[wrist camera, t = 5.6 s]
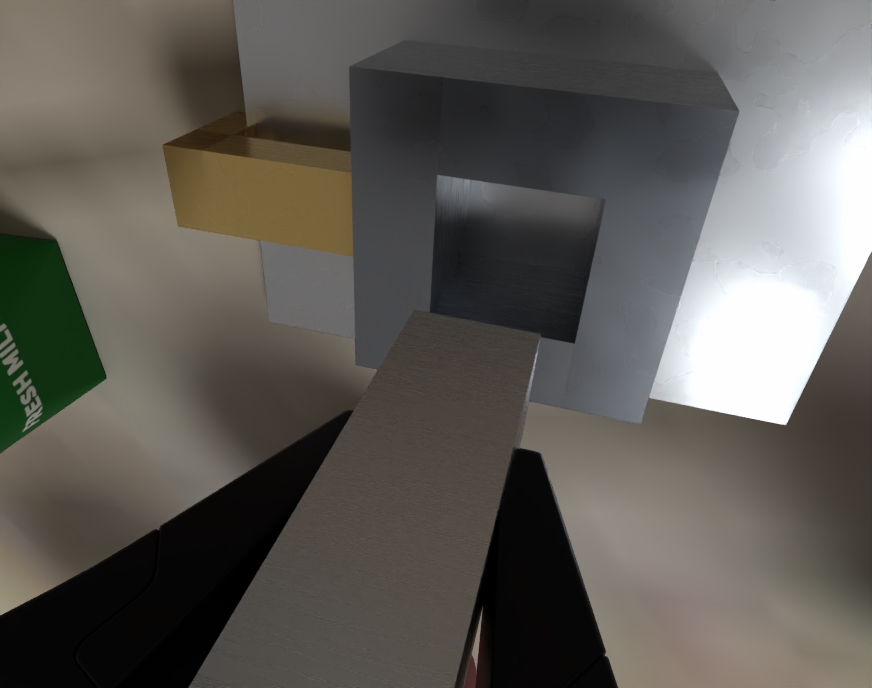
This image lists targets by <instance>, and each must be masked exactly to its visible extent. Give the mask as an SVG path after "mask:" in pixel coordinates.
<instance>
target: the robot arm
mask: <svg viewBox="0 0 872 688" xmlns="http://www.w3.org/2000/svg"><path fill="white" fill-rule="evenodd" d="M353 411H354V410H347V411H344V412H342V413H341V414H339V415H338V416H336V417H334V418H333V419H331V420H330V421H328V422H326V423H325V424H323V425H322V426H320V427H318V428H317V429H315V430H314V431H312V432H310V433H309V434H307V435H306V436H304V437H302V438H301V439H299V440H298V441H296V442H294V443H293V444H291V445H290V446H288V447H286V448H285V449H283V450H281V451H280V452H278V453H277V454H275V455H273V456H272V457H270V458H269V459H267V460H265V461H264V462H262V463H261V464H259V465H257V466H256V467H254V468H253V469H251V470H249V471H248V472H246V473H245V474H243V475H241V476H240V477H238V478H237V479H235V480H233V481H232V482H230V483H229V484H227V485H225V486H224V487H222V488H221V489H219V490H217V491H216V492H214V493H212V494H211V495H209V496H208V497H206V498H204V499H203V500H201V501H200V502H198V503H196V504H195V505H193V506H192V507H190V508H188V509H187V510H185V511H184V512H182V513H180V514H179V515H177V516H176V517H174V518H172V519H171V520H169V521H168V522H166V523H164V524H163V525H161V526H160V529H159V530H157V529H155V530H153V531H151V532H150V533H148V534H146V535H145V536H143V537H142V538H140V539H138V540H137V541H135V542H134V543H132V544H130V545H129V546H127V547H125V548H124V549H122V550H120V551H118V552H117V553H115V554H113V555H112V556H110V557H108V558H107V559H105V560H103V561H102V562H100V563H98V564H97V565H95V566H93V567H91V568H89V569H88V570H86V571H84V572H82V573H80V574H78V575H76V576H75V577H73V578H71V579H69V580H67V581H65V582H64V583H62V584H60V585H58V586H56V587H54V588H52V589H51V590H49V591H47V592H45V593H43V594H41V595H39V596H37V597H35V598H33V599H31V600H29V601H27V602H25V603H24V604H22V605H20V606H18V607H16V608H14V609H12V610H10V611H8V612H6V613H4V614H2V615H0V688H189V686H190V684H191V683H192V681H193V679H194V678H195V676H196V674H197V673H198V671H199V669H200V668H201V666H202V664H203V663H204V661H205V659H206V658H207V656H208V654H209V653H210V651H211V649H212V648H213V646H214V644H215V643H216V641H217V639H218V637H219V636H220V634H221V632H222V631H223V629H224V627H225V626H226V624H227V622H228V621H229V619H230V617H231V616H232V614H233V612H234V611H235V609H236V607H237V606H238V604H239V602H240V601H241V599H242V597H243V596H244V594H245V592H246V591H247V589H248V587H249V585H250V584H251V582H252V580H253V579H254V577H255V575H256V574H257V572H258V570H259V569H260V567H261V565H262V564H263V562H264V560H265V559H266V557H267V555H268V554H269V552H270V550H271V549H272V547H273V545H274V544H275V542H276V540H277V539H278V537H279V535H280V534H281V532H282V530H283V528H284V527H285V525H286V523H287V522H288V520H289V518H290V517H291V515H292V513H293V512H294V510H295V508H296V507H297V505H298V503H299V502H300V500H301V498H302V497H303V495H304V493H305V492H306V490H307V488H308V487H309V485H310V483H311V482H312V480H313V478H314V476H315V475H316V473H317V471H318V470H319V468H320V466H321V465H322V463H323V461H324V460H325V458H326V456H327V455H328V453H329V451H330V450H331V448H332V446H333V445H334V443H335V441H336V440H337V438H338V436H339V435H340V433H341V431H342V430H343V428H344V426H345V425H346V423H347V421H348V419H349V418H350V416H351V414H352V413H353ZM605 653H606V650H605V647H604V644H603V641H602V638H601V635H600V632H599V629H598V625H597V622H596V619H595V616H594V613H593V610H592V607H591V604H590V601H589V598H588V595H587V592H586V589H585V585H584V582H583V579H582V576H581V573H580V570H579V567H578V564H577V561H576V558H575V555H574V552H573V549H572V545H571V542H570V539H569V536H568V533H567V530H566V527H565V524H564V521H563V518H562V515H561V512H560V509H559V505H558V502H557V499H556V496H555V493H554V490H553V487H552V484H551V481H550V478H549V475H548V472H547V468H546V465H545V462H544V459H543V457H542V455H541V454H540V453H539V452H535V451H531V450H527V449H522V448H515V451H514V455H513V459H512V463H511V466H510V470H509V474H508V478H507V482H506V486H505V490H504V494H503V497H502V501H501V505H500V509H499V514H498V518H497V524H496V530H495V536H494V542H493V548H492V554H491V560H490V566H489V572H488V578H487V584H486V590H485V596H484V602H483V610H482V621H481V632H480V643H479V653H478V664H477V675H476V686H475V688H618V686H617V683H616V680H615V677H614V674H613V671H612V668H611V665H610V661H609V659H608V657H607V656H605Z"/></svg>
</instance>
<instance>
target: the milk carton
mask: <svg viewBox="0 0 872 688" xmlns="http://www.w3.org/2000/svg"><path fill="white" fill-rule="evenodd" d="M105 379H106V376H105V373H104V370H103V368H102V365H101V362H100V359H99V357H98V354H97V351H96V349H95V346H94V343H93V340H92V338H91V335H90V332H89V329H88V327H87V324H86V321H85V318H84V316H83V313H82V310H81V308H80V305H79V302H78V299H77V297H76V294H75V291H74V288H73V286H72V283H71V280H70V278H69V275H68V272H67V269H66V267H65V264H64V261H63V258H62V256H61V253H60V250H59V248H58V245H57V242H56V241H54V240H46V239H38V238H30V237H22V236H14V235H6V234H0V453H1V452H3V451H4V450H6V449H7V448H8V447H10V446H11V445H12V444H14V443H15V442H17V441H18V440H20V439H21V438H22V437H24V436H25V435H27V434H28V433H30V432H31V431H32V430H34V429H35V428H37V427H38V426H40V425H41V424H42V423H44V422H45V421H47V420H48V419H50V418H51V417H52V416H54V415H55V414H57V413H58V412H60V411H61V410H62V409H64V408H65V407H67V406H68V405H70V404H71V403H72V402H74V401H75V400H77V399H78V398H80V397H81V396H82V395H84V394H85V393H87V392H88V391H90V390H91V389H92V388H94V387H95V386H97V385H98V384H100V383H101V382H102V381H104V380H105Z"/></svg>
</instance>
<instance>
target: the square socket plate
mask: <svg viewBox="0 0 872 688" xmlns="http://www.w3.org/2000/svg"><path fill="white" fill-rule="evenodd" d="M233 5H234V14H235V23H236V32H237V41H238V49H239V58H240V67H241V76H242V85H243V93H244V102H245V111H246V114H244V113H236V112H234V113H232V114H230V115H227V116H225V117H223V118H221V119H218V120H216V121H214V122H212V123H210V124H207V125H205V126H203V127H201V128H199V129H196V130H194V131H192V132H190V133H188V134H185V135H183V136H181V137H179V138H177V139H174V140H172V141H170V142H168V143H165V144H163V150H164V155H165V161H166V166H167V171H168V176H169V181H170V187H171V192H172V197H173V202H174V208H175V213H176V218H177V223H178V226H180V227H185V228H191V229H197V230H202V231H208V232H214V233H220V234H225V235H231V236H237V237H242V238H248V239H254V240H260V243H261V252H262V261H263V270H264V278H265V287H266V296H267V305H268V314H269V322H273V323H278V324H283V325H288V326H293V327H298V328H303V329H308V330H313V331H318V332H323V333H328V334H333V335H338V336H343V337H348V338H353V339H355V354H356V365H358V366H363V367H368V368H373V369H377V370H378V369H379V368H380V366H381V364H382V362H383V361H384V359H385V357H386V356H387V354H388V352H389V351H390V349H391V347H392V346H393V344H394V342H395V341H396V339H397V337H398V336H399V334H400V332H401V331H402V329H403V327H404V326H405V324H406V322H407V321H408V319H409V317H410V316H411V314H412V312H413V310H419V311H424V312H430V313H435V314H440V315H445V316H451V317H456V318H461V319H466V320H472V321H477V322H482V323H487V324H492V325H498V326H503V327H508V328H513V329H519V330H524V331H529V332H534V333H540V334H541V337H540V342H539V348H538V353H537V359H536V364H535V370H534V375H533V381H532V387H531V392H530V398H529V401H531V402H536V403H540V404H545V405H550V406H555V407H560V408H564V409H569V410H574V411H579V412H584V413H588V414H593V415H598V416H603V417H608V418H612V419H617V420H622V421H627V422H632V423H636V424H641V421H642V418H643V415H644V412H645V408H646V405H647V402H648V399H649V398H653V399H658V400H663V401H668V402H673V403H678V404H683V405H688V406H693V407H698V408H702V409H707V410H712V411H717V412H722V413H727V414H732V415H737V416H742V417H747V418H752V419H757V420H762V421H767V422H772V423H777V424H782V425H786V424H787V422H788V420H789V418H790V416H791V414H792V412H793V410H794V407H795V405H796V403H797V401H798V399H799V397H800V395H801V393H802V391H803V389H804V387H805V385H806V383H807V381H808V379H809V377H810V375H811V373H812V371H813V369H814V367H815V365H816V363H817V361H818V359H819V357H820V355H821V353H822V351H823V348H824V346H825V344H826V342H827V340H828V338H829V336H830V334H831V332H832V330H833V328H834V326H835V324H836V322H837V320H838V318H839V316H840V314H841V312H842V310H843V308H844V306H845V304H846V302H847V300H848V298H849V296H850V294H851V291H852V289H853V287H854V285H855V283H856V281H857V279H858V277H859V275H860V273H861V271H862V269H863V267H864V265H865V263H866V261H867V259H868V257H869V255H870V253H871V251H872V0H233Z"/></svg>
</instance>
